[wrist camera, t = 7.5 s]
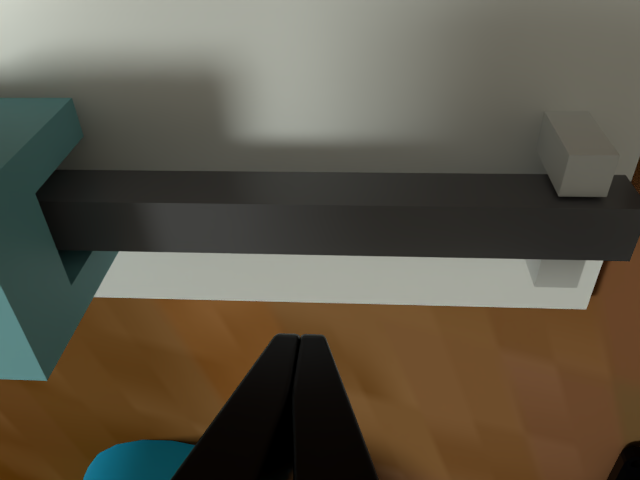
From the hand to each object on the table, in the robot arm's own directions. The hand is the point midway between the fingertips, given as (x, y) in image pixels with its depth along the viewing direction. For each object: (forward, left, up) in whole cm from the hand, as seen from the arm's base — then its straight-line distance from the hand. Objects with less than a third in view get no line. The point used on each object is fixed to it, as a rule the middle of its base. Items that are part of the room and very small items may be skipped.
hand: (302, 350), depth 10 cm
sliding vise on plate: (+4, 0, -7) cm, 8 cm away
